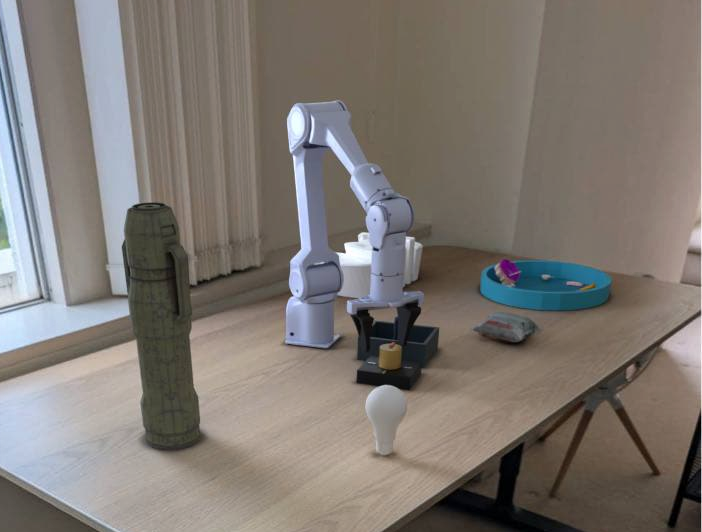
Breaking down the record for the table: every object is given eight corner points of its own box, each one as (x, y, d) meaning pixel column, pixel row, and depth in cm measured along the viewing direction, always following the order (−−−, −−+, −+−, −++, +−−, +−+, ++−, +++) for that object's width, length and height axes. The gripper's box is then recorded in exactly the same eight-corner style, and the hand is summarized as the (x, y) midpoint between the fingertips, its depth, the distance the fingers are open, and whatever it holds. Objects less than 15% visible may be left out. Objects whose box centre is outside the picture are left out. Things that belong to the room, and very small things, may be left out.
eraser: (392, 349, 160) (394, 316, 156) (403, 350, 160) (405, 316, 156) (392, 353, 158) (394, 319, 154) (404, 353, 158) (406, 319, 154)
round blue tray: (509, 270, 213) (512, 247, 210) (625, 286, 198) (629, 262, 195) (459, 297, 192) (461, 272, 189) (583, 318, 177) (588, 291, 174)
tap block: (356, 383, 147) (356, 369, 145) (369, 368, 153) (370, 354, 152) (409, 390, 144) (410, 376, 142) (421, 374, 150) (422, 360, 149)
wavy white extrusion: (365, 307, 187) (366, 260, 181) (306, 296, 195) (306, 251, 189) (434, 273, 211) (437, 231, 205) (379, 265, 219) (381, 224, 213)
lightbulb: (360, 446, 125) (363, 379, 119) (399, 444, 125) (403, 377, 119) (367, 464, 120) (369, 395, 114) (407, 462, 120) (412, 393, 114)
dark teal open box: (357, 359, 157) (357, 336, 155) (373, 342, 166) (374, 320, 163) (424, 368, 153) (425, 344, 150) (437, 349, 161) (439, 327, 159)
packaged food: (520, 350, 160) (523, 326, 158) (467, 338, 167) (470, 315, 164) (540, 339, 166) (543, 316, 163) (488, 328, 172) (491, 305, 170)
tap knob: (397, 370, 145) (398, 350, 143) (376, 368, 146) (376, 347, 144) (403, 363, 148) (404, 343, 146) (382, 360, 149) (383, 340, 147)
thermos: (185, 457, 122) (162, 215, 104) (127, 440, 128) (94, 207, 109) (220, 435, 129) (203, 203, 110) (163, 420, 134) (138, 196, 116)
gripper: (360, 282, 135) (358, 359, 143) (435, 273, 140) (429, 348, 147) (342, 272, 141) (340, 347, 148) (414, 263, 146) (409, 336, 153)
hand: (383, 347), depth 148 cm, fingers open, 7 cm apart
